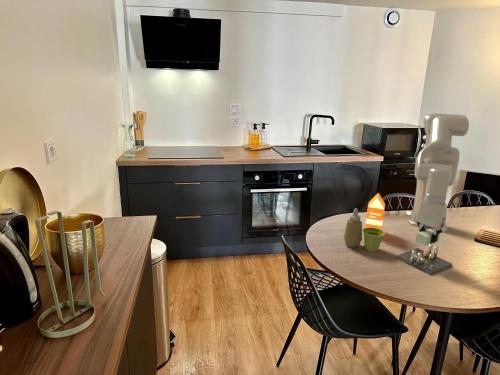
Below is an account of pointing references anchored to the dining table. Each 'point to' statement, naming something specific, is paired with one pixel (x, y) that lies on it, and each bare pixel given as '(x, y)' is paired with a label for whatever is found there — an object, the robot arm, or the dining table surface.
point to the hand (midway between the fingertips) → (427, 239)
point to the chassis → (424, 260)
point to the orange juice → (375, 212)
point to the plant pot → (372, 238)
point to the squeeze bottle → (353, 230)
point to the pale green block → (425, 237)
